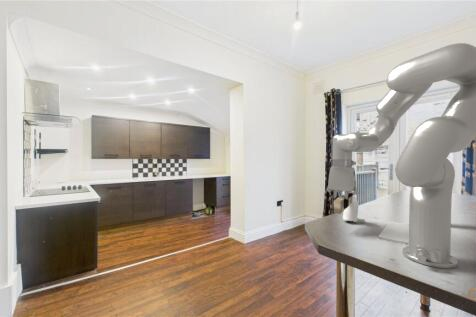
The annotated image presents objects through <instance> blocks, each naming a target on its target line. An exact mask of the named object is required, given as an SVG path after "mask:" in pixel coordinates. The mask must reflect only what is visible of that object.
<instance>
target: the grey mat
mask: <svg viewBox="0 0 476 317" xmlns="http://www.w3.org/2000/svg"><path fill="white" fill-rule="evenodd" d="M377 237H378V239H381V240H385V241H391V242H396V243H400V244H404V245H409V223H404V222H397V221H392V220H389V221H388V222H387V224H386V226H385V227H384V228H383V230H382V231H381V232H380V233H379V235H378V236H377Z"/></svg>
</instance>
